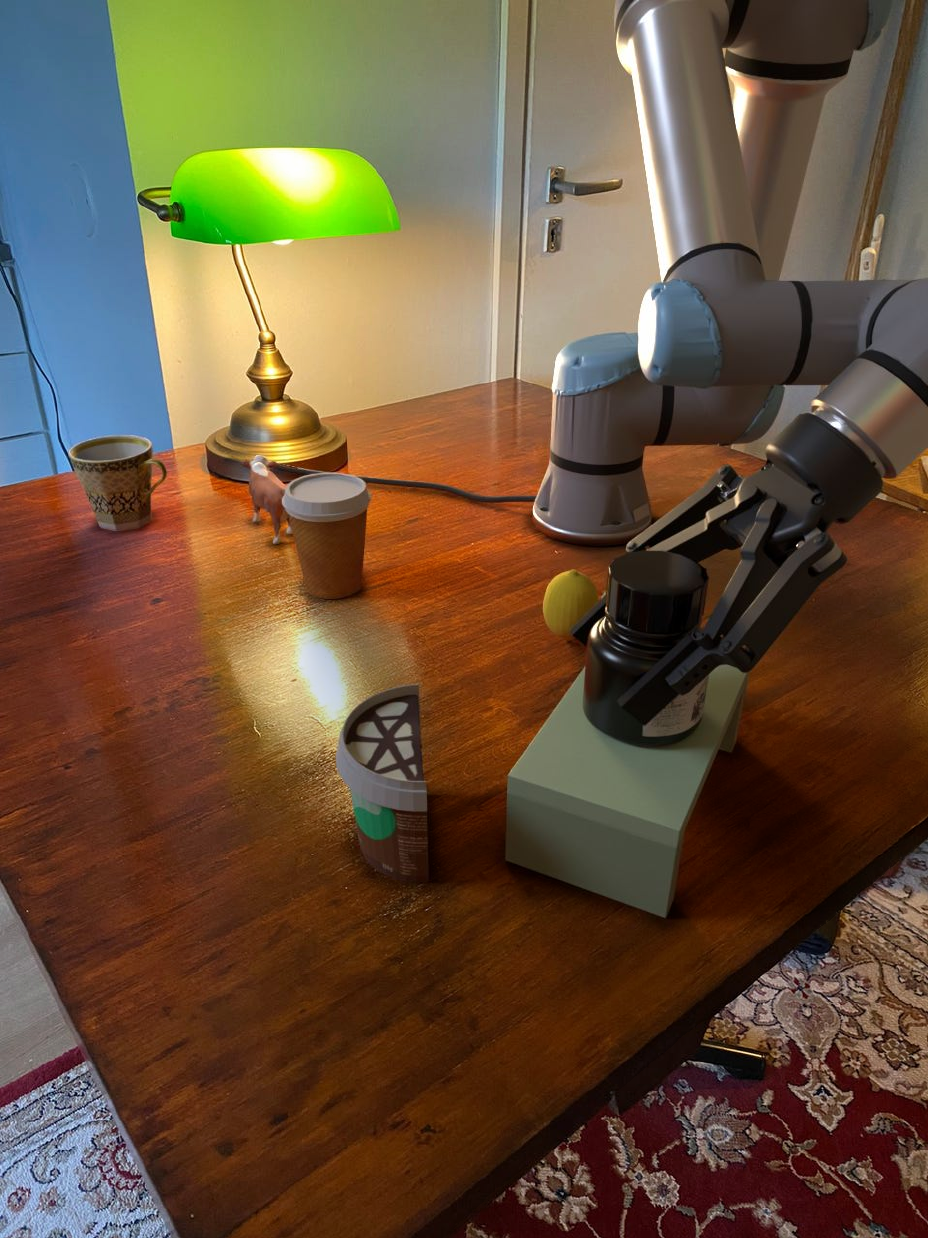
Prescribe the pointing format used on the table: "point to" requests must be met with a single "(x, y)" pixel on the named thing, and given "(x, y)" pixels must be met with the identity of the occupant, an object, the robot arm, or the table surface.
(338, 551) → the disposable coffee cup
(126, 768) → the table surface
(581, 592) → the lemon
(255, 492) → the bull figurine
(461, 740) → the table surface
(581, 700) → the shelf
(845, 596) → the table surface
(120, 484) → the ceramic cup
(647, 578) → the ink bottle
